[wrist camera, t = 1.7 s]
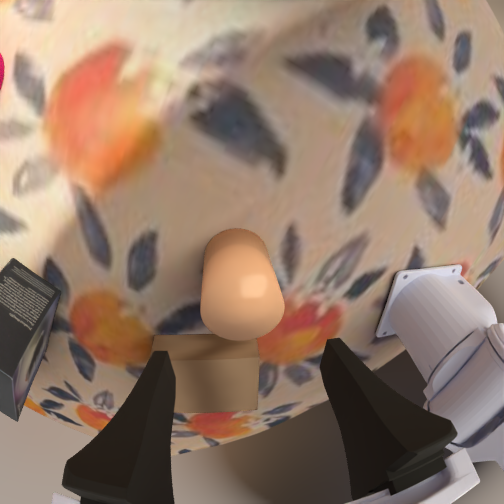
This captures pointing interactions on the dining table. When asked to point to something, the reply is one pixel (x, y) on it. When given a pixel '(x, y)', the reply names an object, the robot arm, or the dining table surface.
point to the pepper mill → (1, 70)
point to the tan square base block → (212, 372)
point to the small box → (22, 332)
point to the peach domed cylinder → (239, 287)
